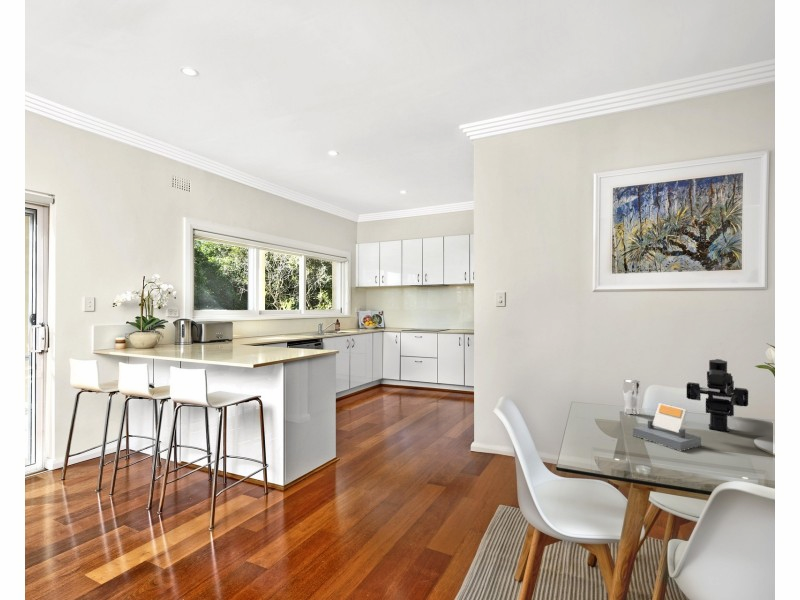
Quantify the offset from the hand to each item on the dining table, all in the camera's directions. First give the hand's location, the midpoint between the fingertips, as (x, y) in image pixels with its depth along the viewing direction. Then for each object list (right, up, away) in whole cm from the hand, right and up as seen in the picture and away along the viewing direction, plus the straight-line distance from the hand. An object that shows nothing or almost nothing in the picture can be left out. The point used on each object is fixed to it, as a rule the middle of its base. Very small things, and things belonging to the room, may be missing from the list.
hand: (715, 400), depth 156 cm
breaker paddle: (-15, -12, +5) cm, 20 cm away
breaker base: (-15, -16, +5) cm, 22 cm away
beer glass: (-8, -16, +42) cm, 45 cm away
